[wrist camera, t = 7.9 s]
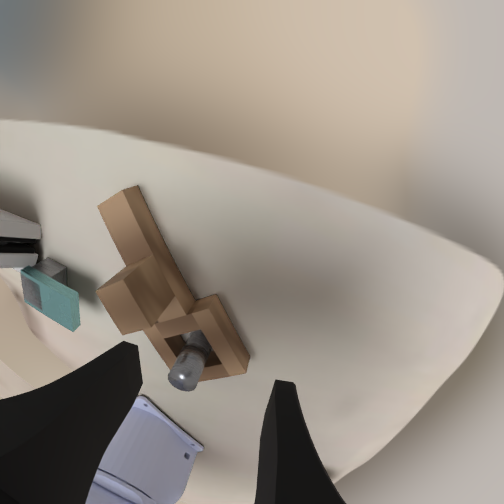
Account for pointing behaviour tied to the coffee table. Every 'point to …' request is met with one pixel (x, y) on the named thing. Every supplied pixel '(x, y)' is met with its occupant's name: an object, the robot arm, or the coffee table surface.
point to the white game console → (17, 241)
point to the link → (162, 292)
